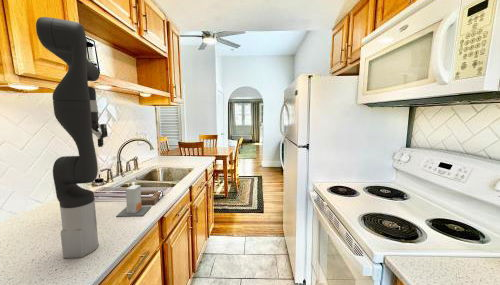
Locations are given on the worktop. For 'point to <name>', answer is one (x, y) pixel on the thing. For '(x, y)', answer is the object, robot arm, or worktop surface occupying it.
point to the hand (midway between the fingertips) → (90, 146)
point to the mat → (137, 214)
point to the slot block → (151, 200)
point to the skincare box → (133, 198)
